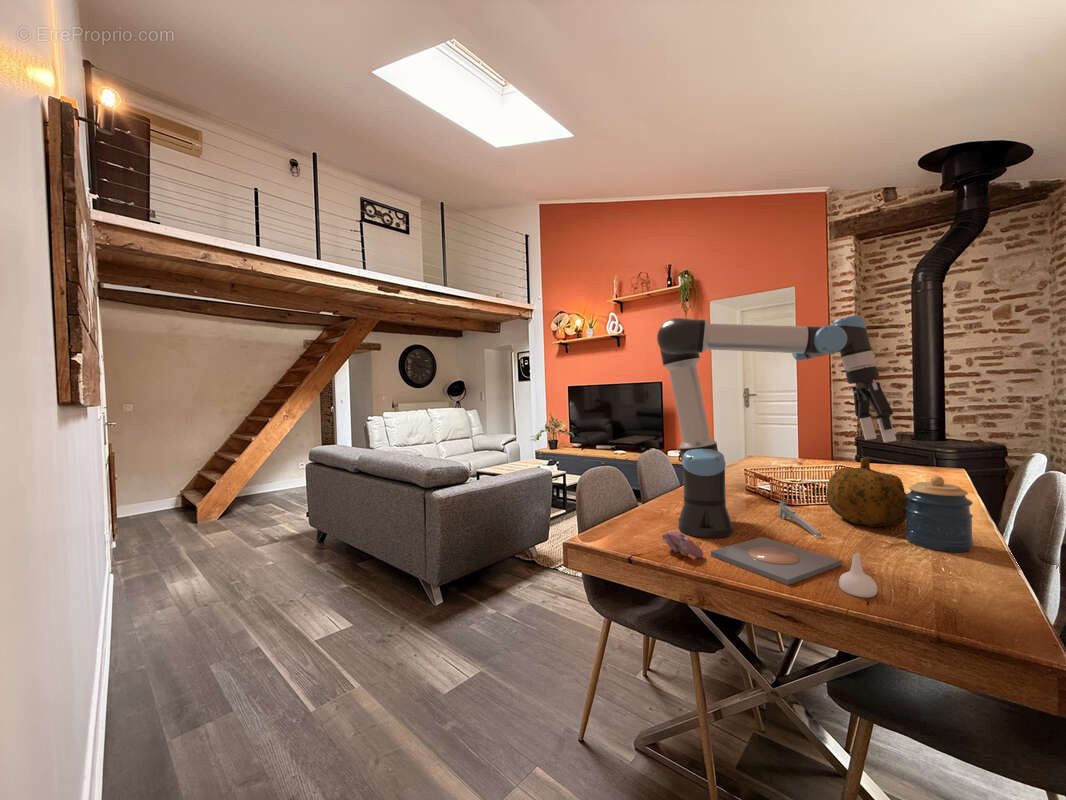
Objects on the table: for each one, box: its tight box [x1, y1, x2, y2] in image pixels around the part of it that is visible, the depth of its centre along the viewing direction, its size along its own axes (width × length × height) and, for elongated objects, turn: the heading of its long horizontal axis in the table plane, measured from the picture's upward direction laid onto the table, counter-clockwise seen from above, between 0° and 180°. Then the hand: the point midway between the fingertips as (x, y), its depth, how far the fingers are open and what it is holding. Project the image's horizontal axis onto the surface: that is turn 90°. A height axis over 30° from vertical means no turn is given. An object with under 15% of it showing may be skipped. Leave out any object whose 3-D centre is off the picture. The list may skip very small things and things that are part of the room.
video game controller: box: [662, 529, 704, 559], centre depth 114 cm, size 10×5×7 cm, turn 24°
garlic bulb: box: [838, 553, 878, 599], centre depth 91 cm, size 6×6×8 cm
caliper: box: [778, 499, 824, 538], centre depth 132 cm, size 20×1×6 cm, turn 0°
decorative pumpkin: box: [826, 457, 908, 528], centre depth 135 cm, size 20×21×20 cm
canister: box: [905, 475, 974, 553], centre depth 115 cm, size 13×13×18 cm
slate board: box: [710, 536, 842, 586], centre depth 108 cm, size 20×20×1 cm
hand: (880, 440), depth 127 cm, fingers open, 13 cm apart
